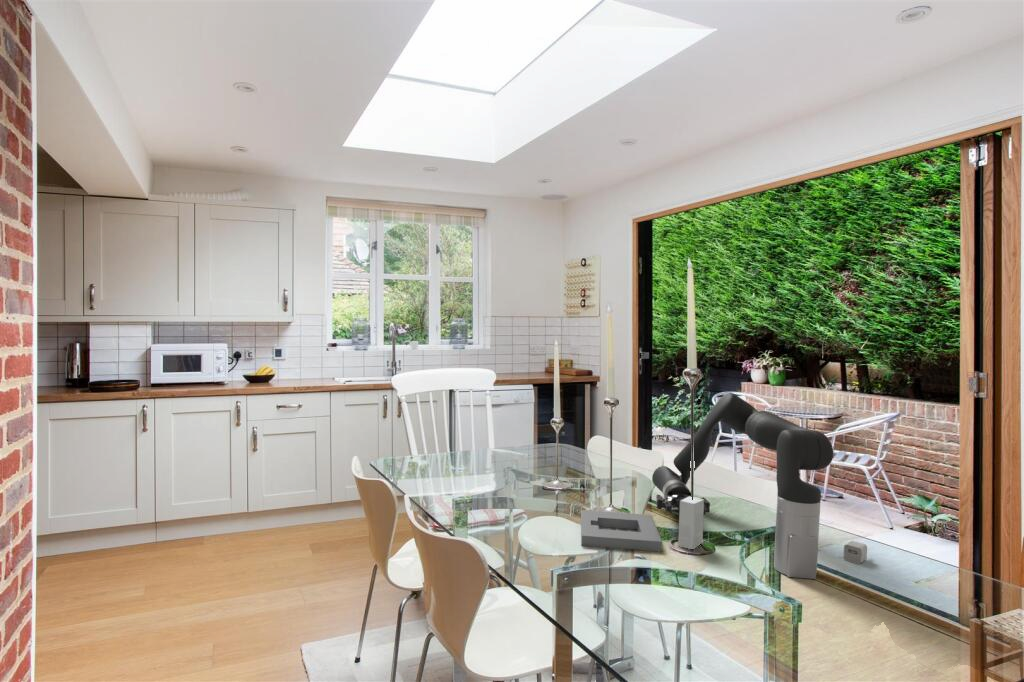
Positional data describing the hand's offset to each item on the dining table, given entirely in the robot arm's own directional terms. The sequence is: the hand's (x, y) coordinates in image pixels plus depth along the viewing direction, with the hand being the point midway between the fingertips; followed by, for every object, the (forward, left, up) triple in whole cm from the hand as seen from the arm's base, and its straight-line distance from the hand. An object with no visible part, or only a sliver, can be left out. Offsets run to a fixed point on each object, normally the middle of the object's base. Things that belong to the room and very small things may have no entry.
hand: (686, 511), depth 166 cm
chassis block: (-2, +18, -7) cm, 19 cm away
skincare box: (-7, 0, -7) cm, 10 cm away
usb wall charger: (-7, -41, -7) cm, 42 cm away
